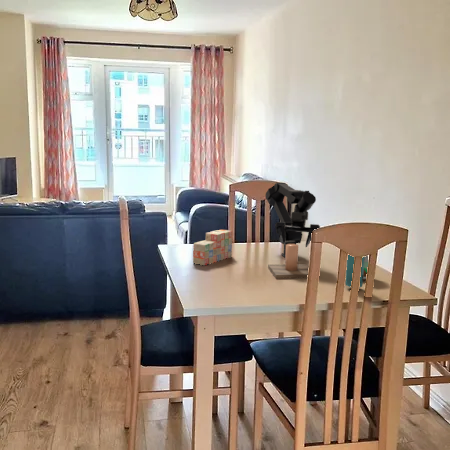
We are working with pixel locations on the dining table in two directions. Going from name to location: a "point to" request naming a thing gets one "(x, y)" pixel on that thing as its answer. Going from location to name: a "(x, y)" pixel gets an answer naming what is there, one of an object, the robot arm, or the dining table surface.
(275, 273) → the tan flat square block
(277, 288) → the dining table surface
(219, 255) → the stack of blocks
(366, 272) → the food container
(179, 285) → the dining table surface
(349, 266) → the beverage bottle
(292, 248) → the terracotta cylinder
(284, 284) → the dining table surface
